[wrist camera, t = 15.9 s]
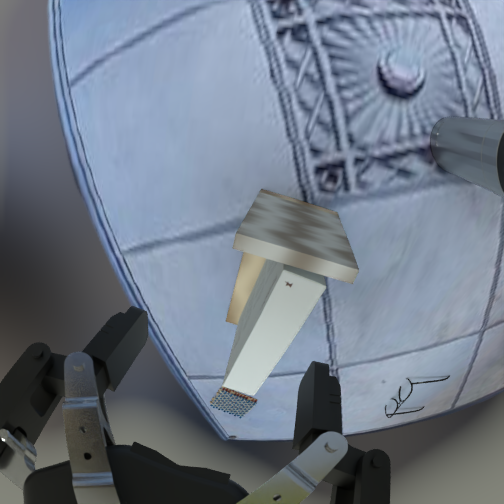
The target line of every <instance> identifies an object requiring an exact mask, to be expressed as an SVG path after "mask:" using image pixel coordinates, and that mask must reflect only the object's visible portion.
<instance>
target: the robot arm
mask: <svg viewBox="0 0 504 504" xmlns="http://www.w3.org/2000/svg"><path fill="white" fill-rule="evenodd" d="M431 150H432V153H433V157H434V158H435V160H436V162H437V163H438V165H439V166H440V167H441V168H442V169H444V170H445V171H447V172H449V173H452V174H454V175H456V176H459V177H461V178H463V179H465V180H468V181H470V182H472V183H474V184H476V185H478V186H481V187H483V188H485V189H487V190H489V191H491V192H493V193H495V194H497V195H499V196H501V197H503V198H504V121H503V120H494V119H482V118H467V117H445V118H443V119H441V120H440V121H438V122H437V123H436V125H435V126H434V128H433V131H432V134H431ZM147 338H148V314H147V311H145V310H142V309H140V308H137V307H134V306H131V307H130V308H129V309H128V311H127V312H126V313H125V314H124V313H121V312H120V313H118V314H116V315H114V316H112V317H111V318H110V319H109V320H108V321H107V323H106V324H105V325H104V326H103V327H102V329H101V331H99V332H98V333H97V334H96V336H95V337H94V338H93V339H92V340H91V341H90V343H89V344H88V345H87V346H86V348H85V349H84V350H83V351H82V352H74V353H72V354H70V355H69V356H64V355H60V354H55V353H51V350H50V348H49V347H48V346H47V345H46V344H44V343H34V344H32V345H30V346H29V347H28V348H27V349H26V351H25V352H24V353H23V354H22V356H21V357H20V358H19V360H17V362H16V363H15V364H14V366H13V367H12V368H11V369H10V371H9V372H8V373H7V375H6V376H5V377H4V379H3V380H2V381H1V383H0V472H1V473H2V474H3V475H5V476H6V477H7V478H8V479H9V480H10V481H12V482H13V483H14V484H15V485H17V486H18V487H19V488H20V489H22V490H23V495H24V504H300V502H302V501H303V500H304V499H305V498H306V497H307V496H308V495H309V494H310V493H311V492H312V491H313V490H314V489H315V488H316V485H317V484H318V483H319V482H320V481H321V480H323V481H325V482H328V483H330V484H333V487H332V494H331V501H330V504H390V459H389V457H388V455H387V454H386V453H385V452H384V451H382V450H379V449H373V450H370V451H368V452H364V451H361V450H359V449H356V448H353V447H352V446H350V445H349V444H348V443H347V441H346V439H345V438H344V437H343V435H342V417H341V397H340V396H341V388H340V384H339V382H338V380H337V378H336V377H334V376H329V365H328V364H325V363H320V362H315V361H313V362H312V363H311V364H310V366H309V368H308V370H307V371H306V373H305V375H304V377H303V378H302V380H301V383H300V386H299V391H298V401H297V411H296V421H295V430H294V439H293V447H292V449H295V450H299V456H298V457H297V458H296V459H295V460H293V461H292V462H291V463H290V464H288V465H287V466H286V467H285V468H283V469H282V470H281V471H280V472H279V473H277V474H276V475H275V476H274V477H272V478H271V479H270V480H268V481H267V482H266V483H264V484H263V485H262V486H261V487H259V488H258V489H256V490H255V491H254V492H252V493H251V494H249V493H247V491H246V490H245V489H244V488H243V487H241V486H240V485H239V484H237V483H236V482H234V481H232V480H230V479H229V478H230V474H226V473H222V472H219V471H215V470H211V469H207V468H200V467H188V466H180V465H177V464H176V463H174V462H173V461H171V460H169V459H168V458H166V457H165V456H163V455H162V454H160V453H159V452H157V451H155V450H153V449H151V448H148V447H146V446H143V445H141V444H139V443H137V442H134V443H133V445H132V446H130V445H116V443H115V440H114V437H113V434H112V431H111V427H110V423H109V418H108V414H107V408H106V403H105V397H104V392H105V391H106V389H107V388H108V389H110V390H112V391H115V390H116V388H117V386H118V385H119V383H120V382H121V380H122V379H123V377H124V375H125V374H126V372H127V371H128V369H129V368H130V366H131V365H132V363H133V362H134V360H135V358H136V357H137V356H138V354H139V353H140V351H141V349H142V348H143V346H144V345H145V343H146V341H147ZM63 396H64V397H66V401H65V402H63V417H64V426H65V434H66V441H67V448H68V453H69V459H70V460H68V461H65V462H62V463H59V464H55V465H52V466H48V467H45V468H41V469H38V470H35V462H36V456H37V453H36V449H35V447H34V444H35V442H36V440H37V439H38V437H39V435H40V433H41V431H42V430H43V428H44V426H45V424H46V423H47V421H48V419H49V418H50V416H51V414H52V413H53V411H54V409H55V408H56V406H57V405H58V403H59V401H60V400H61V398H62V397H63Z"/></svg>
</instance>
